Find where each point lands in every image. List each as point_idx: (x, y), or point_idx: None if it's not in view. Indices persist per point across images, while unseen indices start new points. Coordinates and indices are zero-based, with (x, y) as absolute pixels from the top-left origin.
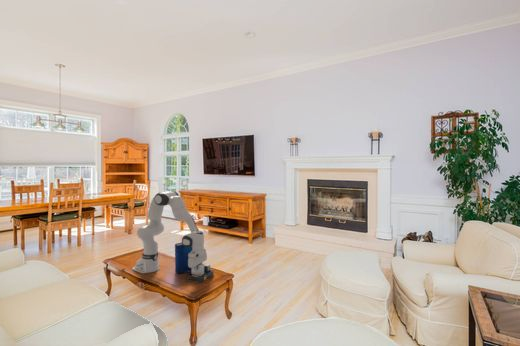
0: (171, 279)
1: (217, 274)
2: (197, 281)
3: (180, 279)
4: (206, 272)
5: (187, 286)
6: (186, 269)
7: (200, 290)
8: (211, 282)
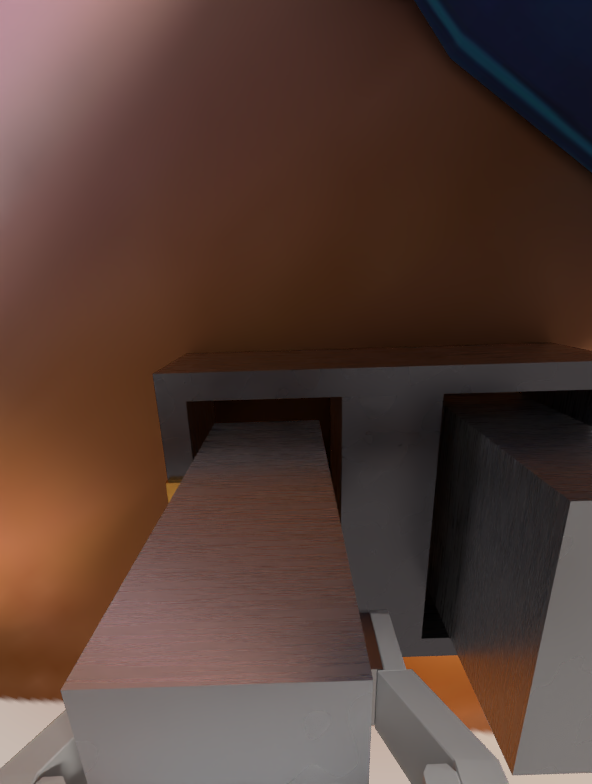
0: (25, 11)
1: None
2: None
3: (135, 207)
4: (441, 595)
5: (20, 487)
6: (499, 26)
7: (49, 672)
8: None
